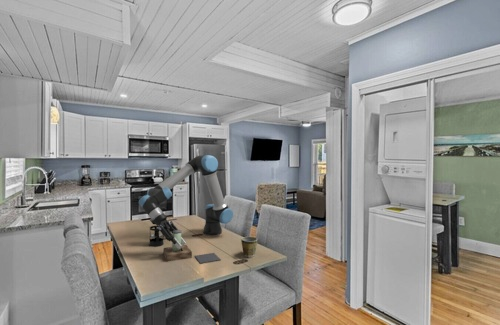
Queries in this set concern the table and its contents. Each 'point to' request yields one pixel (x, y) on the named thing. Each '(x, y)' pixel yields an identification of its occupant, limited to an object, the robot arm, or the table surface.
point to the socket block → (177, 253)
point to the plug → (178, 236)
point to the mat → (207, 258)
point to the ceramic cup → (249, 246)
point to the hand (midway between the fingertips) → (182, 245)
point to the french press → (156, 236)
